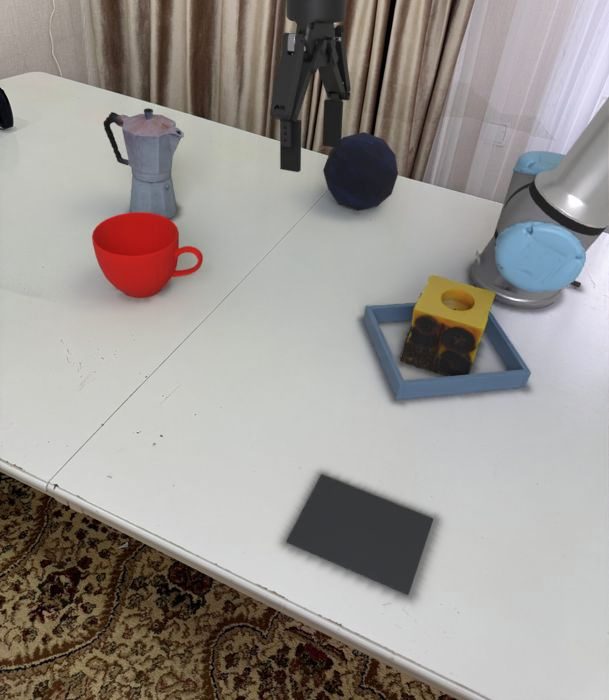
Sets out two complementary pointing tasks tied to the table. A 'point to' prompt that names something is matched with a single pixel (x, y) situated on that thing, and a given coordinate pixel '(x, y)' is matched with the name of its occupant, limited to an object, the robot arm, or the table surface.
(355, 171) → the decorative orb
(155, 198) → the moka pot
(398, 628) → the table surface
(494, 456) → the table surface
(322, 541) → the mat
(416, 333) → the candle
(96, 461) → the table surface
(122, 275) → the ceramic cup
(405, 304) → the blue open square frame
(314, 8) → the robot arm
